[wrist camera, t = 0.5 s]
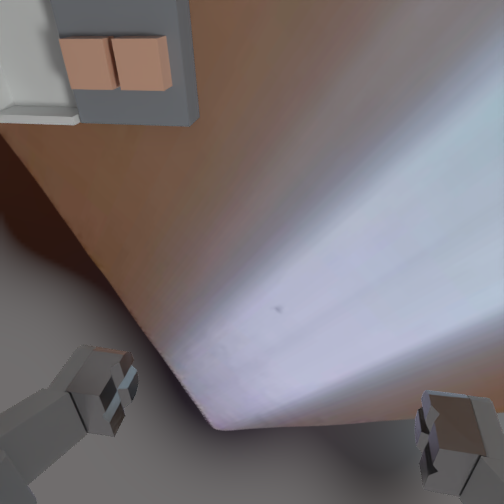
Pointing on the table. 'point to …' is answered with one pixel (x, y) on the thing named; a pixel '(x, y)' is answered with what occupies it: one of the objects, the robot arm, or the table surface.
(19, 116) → the bin
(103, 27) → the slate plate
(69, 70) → the rear tile
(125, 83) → the front tile
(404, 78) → the table surface
